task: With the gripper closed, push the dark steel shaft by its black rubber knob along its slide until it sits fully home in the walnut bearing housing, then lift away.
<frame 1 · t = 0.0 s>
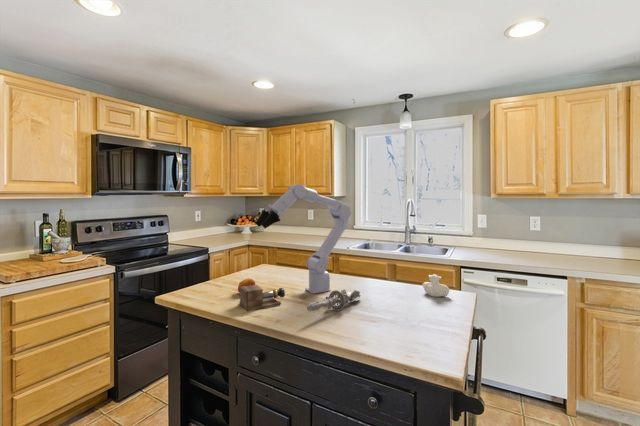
hand: (260, 225, 139), 32 cm above the worktop, fingers open, 7 cm apart
white rounded figure: (434, 296, 148), on the worktop
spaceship: (336, 310, 129), on the worktop
bearing housing: (259, 304, 135), on the worktop
shaft: (269, 294, 137), point 3 cm above the worktop, slide at 4.0 cm
fruit: (246, 293, 150), on the worktop
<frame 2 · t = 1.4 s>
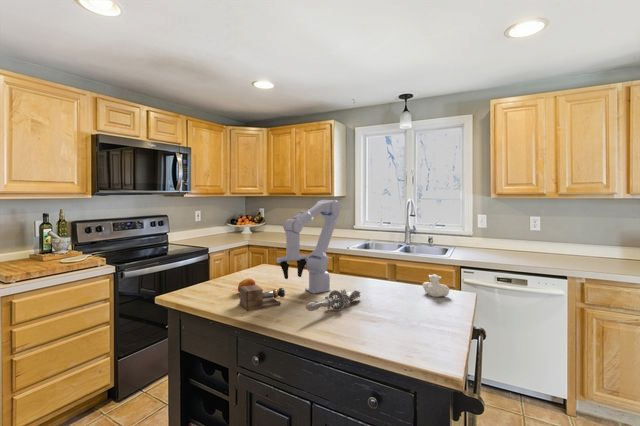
hand: (292, 277, 142), 9 cm above the worktop, fingers open, 6 cm apart
nothing on the worktop moved.
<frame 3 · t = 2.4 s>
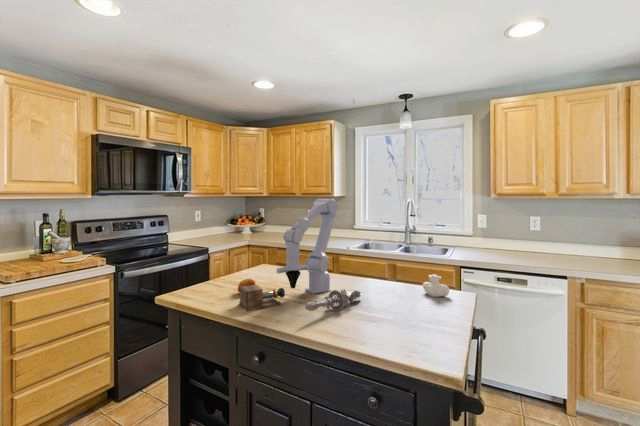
hand: (292, 287, 143), 5 cm above the worktop, fingers closed
nothing on the worktop moved.
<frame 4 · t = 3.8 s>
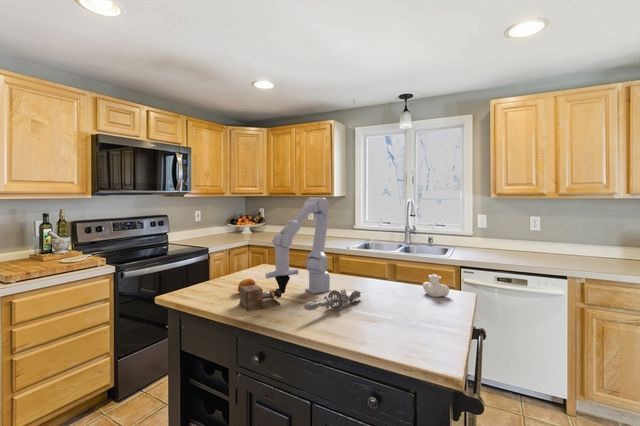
hand: (282, 292, 140), 3 cm above the worktop, fingers closed
shaft: (266, 295, 137), point 3 cm above the worktop, slide at 2.5 cm, touching gripper
everything else where it was.
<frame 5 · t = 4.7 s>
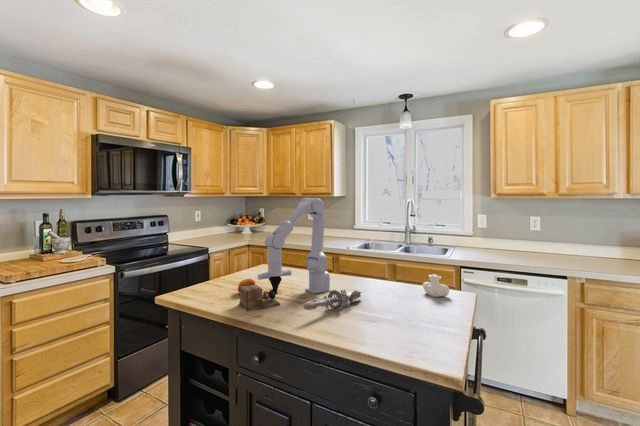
hand: (275, 294, 139), 3 cm above the worktop, fingers closed
shaft: (259, 296, 135), point 3 cm above the worktop, slide at -0.2 cm, touching gripper
everything else where it was.
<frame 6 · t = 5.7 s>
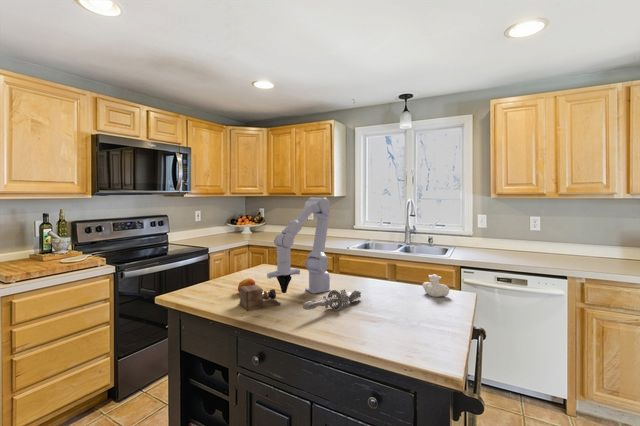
hand: (283, 292, 141), 3 cm above the worktop, fingers closed
shaft: (260, 296, 135), point 3 cm above the worktop, slide at 0.0 cm
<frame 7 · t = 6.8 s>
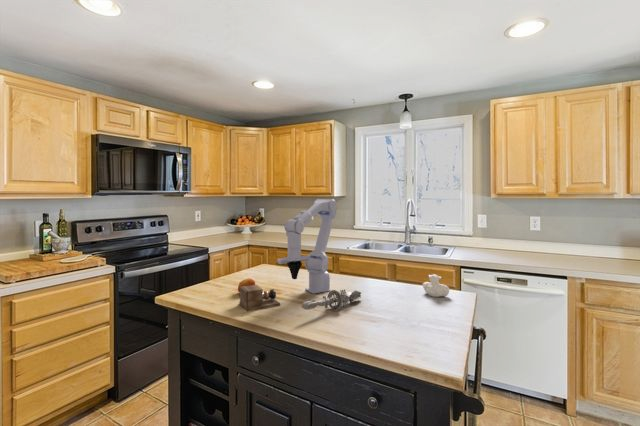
hand: (294, 278, 140), 9 cm above the worktop, fingers closed
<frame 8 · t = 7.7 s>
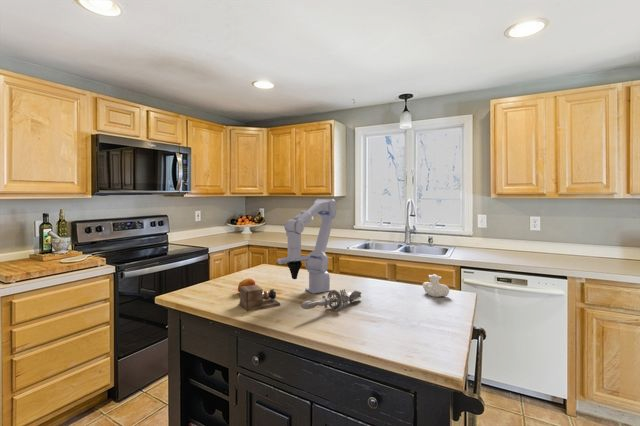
hand: (294, 278, 140), 9 cm above the worktop, fingers closed
at the end: shaft slide at 0.0 cm; fruit moved 0.3 cm from its start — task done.
